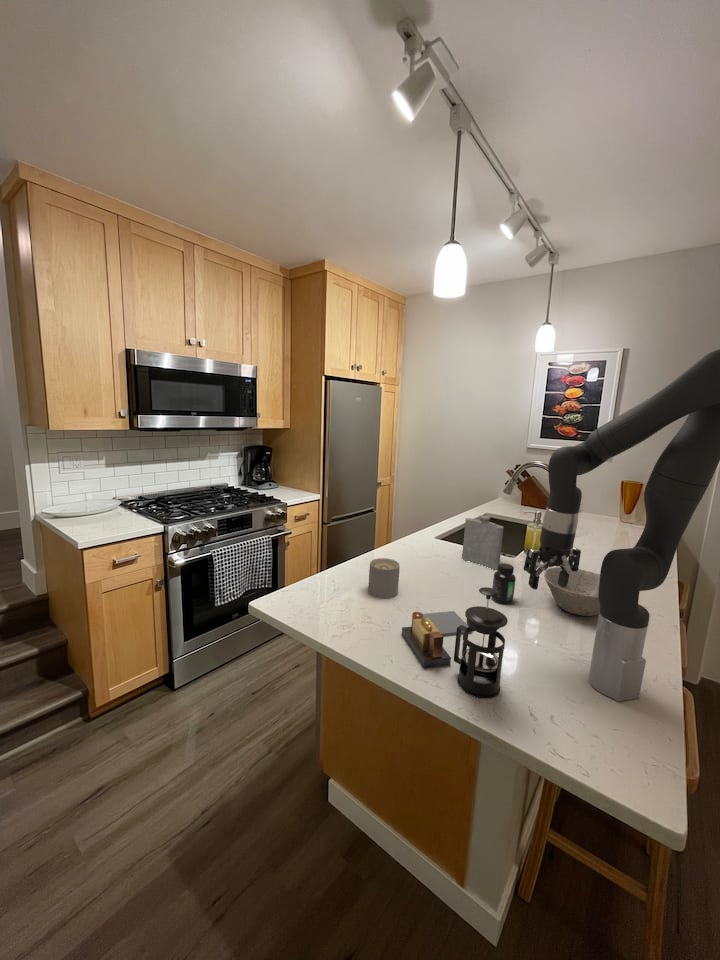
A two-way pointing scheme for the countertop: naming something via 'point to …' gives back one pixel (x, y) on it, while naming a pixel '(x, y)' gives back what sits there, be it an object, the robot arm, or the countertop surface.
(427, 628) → the lever cap
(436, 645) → the hand plane
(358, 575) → the countertop surface
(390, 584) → the coffee mug
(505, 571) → the supplement bottle
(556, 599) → the ceramic bowl
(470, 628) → the french press
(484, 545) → the notched spreader
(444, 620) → the rubber mat
